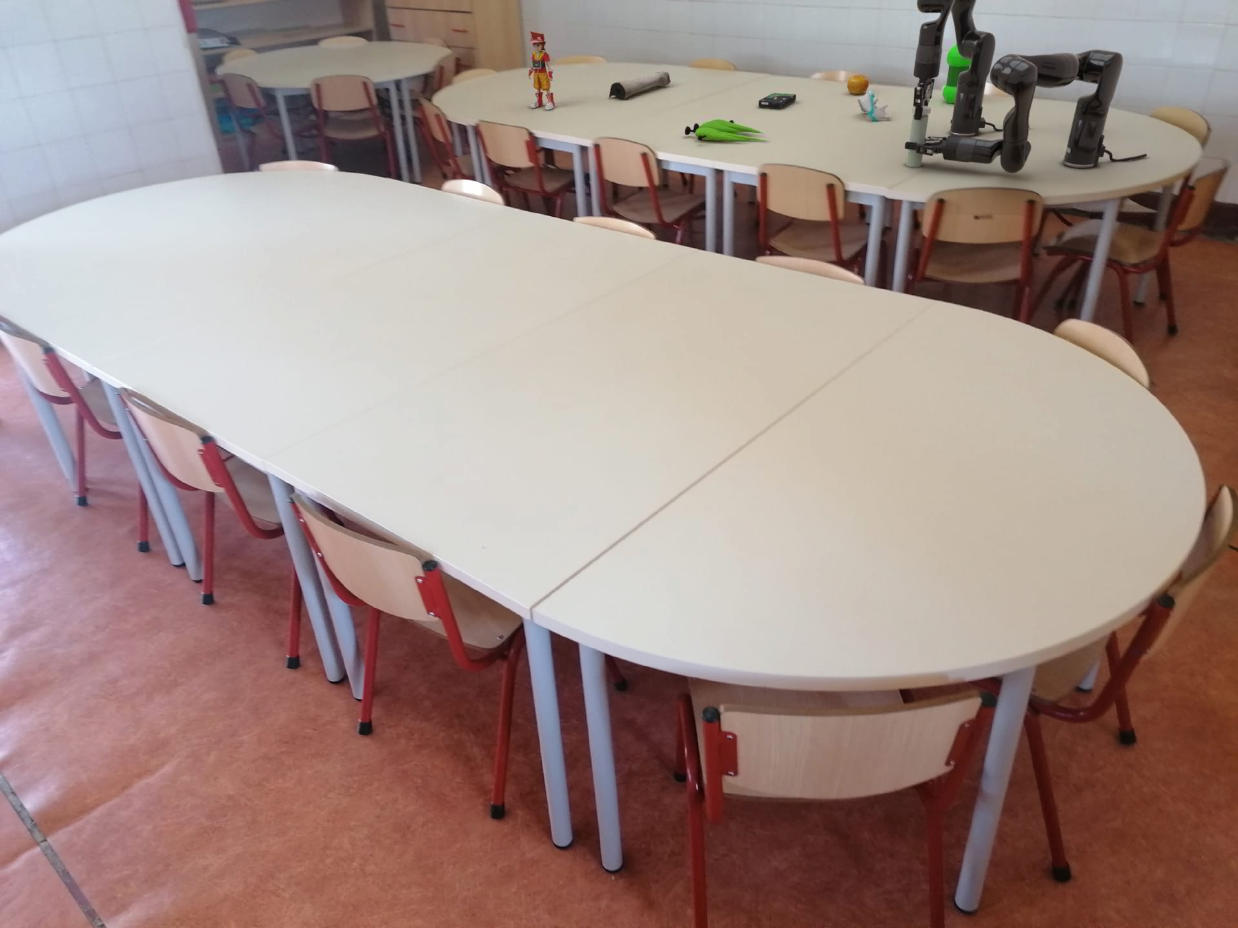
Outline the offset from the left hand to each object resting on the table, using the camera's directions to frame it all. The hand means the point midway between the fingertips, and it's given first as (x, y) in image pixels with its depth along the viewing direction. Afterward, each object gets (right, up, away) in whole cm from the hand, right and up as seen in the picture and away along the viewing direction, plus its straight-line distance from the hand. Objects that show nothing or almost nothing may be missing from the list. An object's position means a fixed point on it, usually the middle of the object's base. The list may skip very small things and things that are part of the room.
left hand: (920, 117), depth 284 cm
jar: (+1, -12, +9) cm, 15 cm away
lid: (0, +2, -1) cm, 3 cm away
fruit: (+4, +45, +91) cm, 101 cm away
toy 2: (-55, +10, +46) cm, 73 cm away
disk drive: (-31, +37, +83) cm, 96 cm away
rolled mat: (-86, +55, +113) cm, 152 cm away
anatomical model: (+1, +23, +60) cm, 64 cm away
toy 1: (-128, +42, +99) cm, 168 cm away
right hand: (-2, -6, +6) cm, 9 cm away
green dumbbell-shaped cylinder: (+37, +33, +71) cm, 87 cm away
